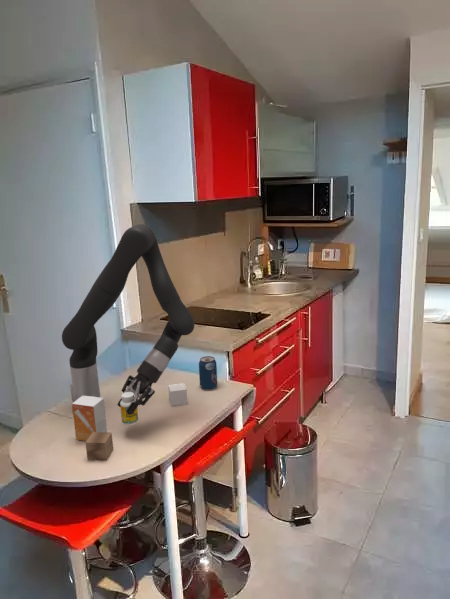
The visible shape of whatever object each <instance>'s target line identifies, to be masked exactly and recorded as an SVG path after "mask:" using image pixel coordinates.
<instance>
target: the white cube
mask: <svg viewBox="0 0 450 599" xmlns="http://www.w3.org/2000/svg"><path fill="white" fill-rule="evenodd" d="M168 398H169V399H168V400H169V403H170V406H171V407H176V406H184V405H188V391H187V386H186V385H185V383H184V382H180V383H174V384H173V383H172V384H168Z"/></svg>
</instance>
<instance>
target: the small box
mask: <svg viewBox="0 0 450 599" xmlns="http://www.w3.org/2000/svg"><path fill="white" fill-rule="evenodd" d="M105 406H106V405H105V398H104V397H101V396H100V397H93V396H81V397H80V398H79V399H77V400H76V401H75V402H73V403H71V407H72V408H71V409H72V414H73V415H72V416H73V424H74V431H75V432H74V433H75V440H77V441H78V440H79V441H84V442H86V441H87V440H88V438H89V437H90V435H91V434H92V433H93V432H108V428H107V426H108V425H107V424H108V423H107V416H106V407H105Z"/></svg>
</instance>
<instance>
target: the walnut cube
mask: <svg viewBox="0 0 450 599" xmlns="http://www.w3.org/2000/svg"><path fill="white" fill-rule="evenodd" d="M84 442H85V443H84V444H85V451H86V458H87V459H86V460H87V461H105V462H106V461H108V459H109V457H110V456H111V455H112V453H113V451H114V444H113V443H114V442H113V432H112V431H111V432H108V431H107V432H93V433H92V434H91V435H90V437H89V438H88V440H87V441H84Z"/></svg>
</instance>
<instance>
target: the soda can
mask: <svg viewBox="0 0 450 599" xmlns="http://www.w3.org/2000/svg"><path fill="white" fill-rule="evenodd" d="M217 367H218V366H217V361H216V358H215V357H214V356H210V355H206V356H201V358H200V359H199V362H198V371H199V372H198V374H199V375H198V376H199V386H200V388H201V389H202V390H205V391H210V390H211V391H212V390H214V389H216V388H217V386H218V373H217V372H218V370H217V369H218V368H217Z"/></svg>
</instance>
